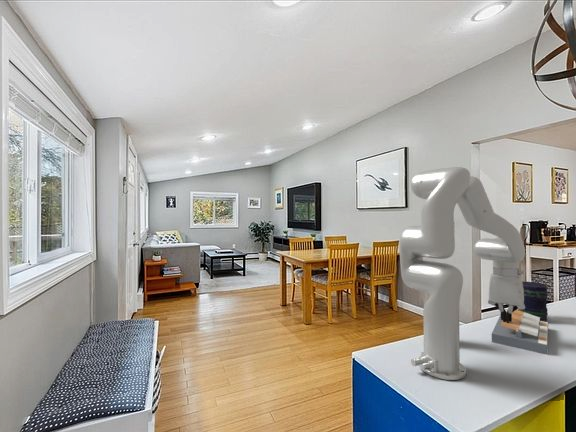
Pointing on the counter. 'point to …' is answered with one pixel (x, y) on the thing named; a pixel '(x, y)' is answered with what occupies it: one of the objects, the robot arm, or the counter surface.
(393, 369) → the counter surface
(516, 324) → the switch
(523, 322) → the switch
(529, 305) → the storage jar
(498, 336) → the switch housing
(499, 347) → the counter surface
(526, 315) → the switch
